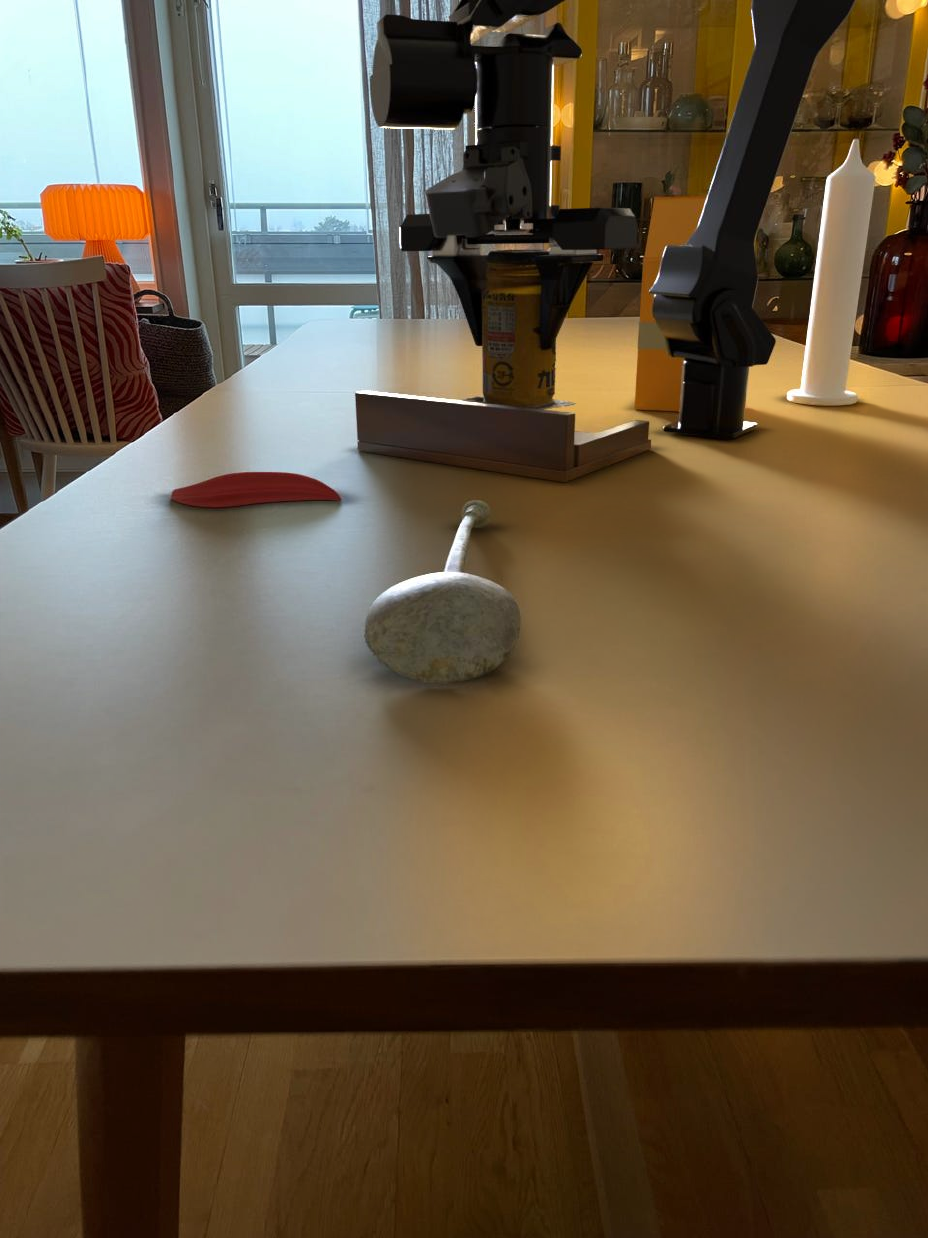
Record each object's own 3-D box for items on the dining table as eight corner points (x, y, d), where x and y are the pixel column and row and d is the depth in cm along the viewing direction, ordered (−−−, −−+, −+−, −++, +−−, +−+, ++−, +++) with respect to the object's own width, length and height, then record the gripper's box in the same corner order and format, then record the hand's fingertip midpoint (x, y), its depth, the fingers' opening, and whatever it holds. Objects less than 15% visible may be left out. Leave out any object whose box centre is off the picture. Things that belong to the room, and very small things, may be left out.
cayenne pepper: (154, 504, 62) (151, 476, 62) (187, 487, 67) (184, 461, 66) (325, 512, 60) (323, 483, 59) (348, 494, 64) (346, 467, 64)
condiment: (576, 405, 77) (581, 249, 72) (492, 418, 73) (491, 253, 68) (523, 393, 83) (524, 247, 78) (442, 404, 78) (438, 251, 74)
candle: (867, 405, 97) (908, 134, 87) (798, 406, 97) (832, 135, 87) (842, 395, 103) (878, 141, 94) (778, 395, 103) (807, 142, 94)
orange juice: (721, 413, 93) (742, 192, 85) (633, 409, 96) (645, 195, 88) (729, 401, 100) (749, 196, 92) (646, 398, 103) (659, 198, 95)
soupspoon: (349, 695, 37) (513, 708, 37) (347, 618, 36) (518, 630, 35) (424, 522, 57) (532, 529, 57) (425, 468, 56) (535, 474, 55)
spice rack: (457, 425, 88) (456, 373, 87) (651, 449, 77) (654, 390, 76) (357, 450, 78) (354, 392, 76) (565, 482, 67) (567, 414, 65)
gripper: (347, 131, 69) (359, 351, 75) (567, 108, 58) (561, 365, 64) (439, 142, 77) (444, 339, 83) (646, 123, 67) (634, 350, 73)
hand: (512, 347), depth 75 cm, fingers closed on condiment, 6 cm apart
